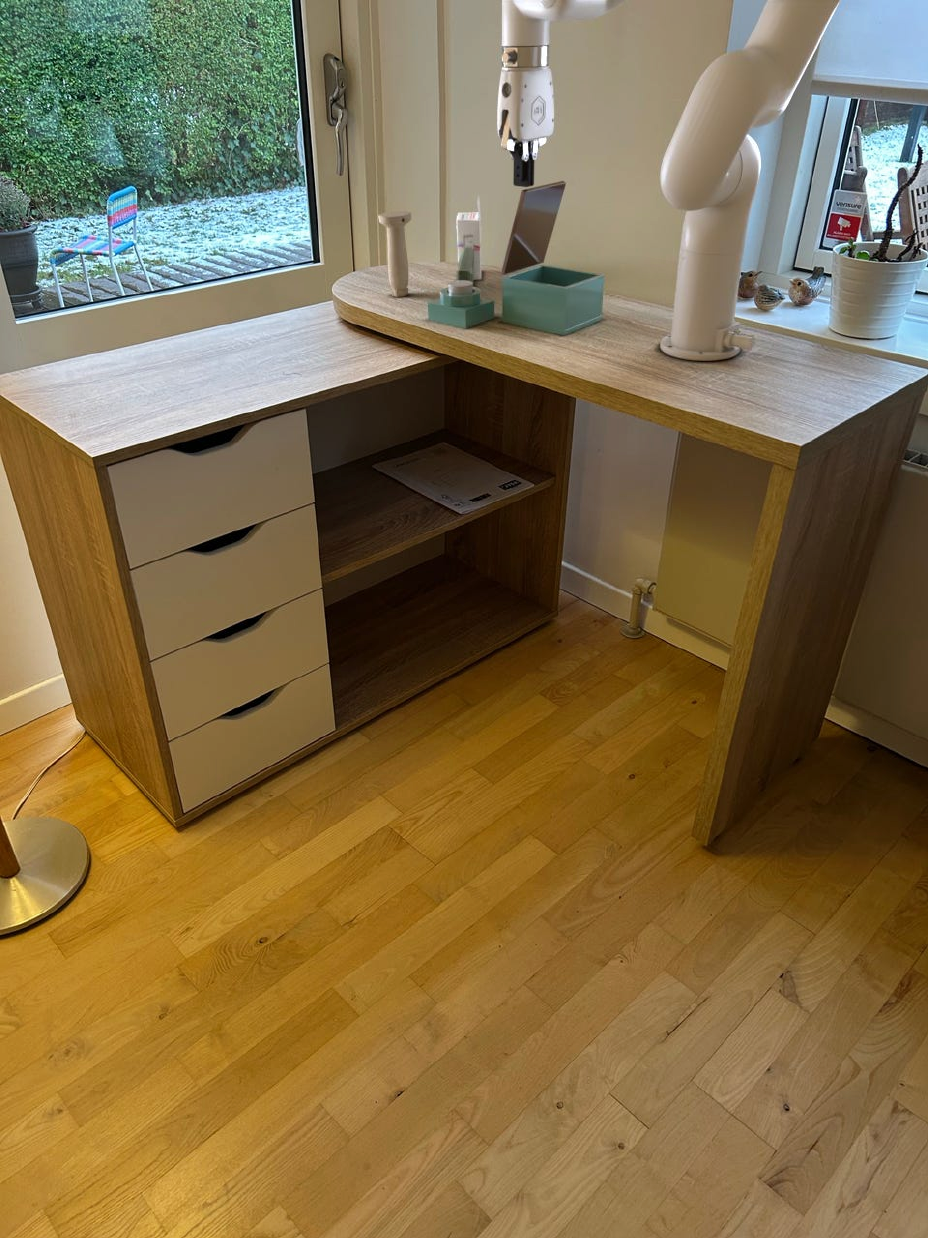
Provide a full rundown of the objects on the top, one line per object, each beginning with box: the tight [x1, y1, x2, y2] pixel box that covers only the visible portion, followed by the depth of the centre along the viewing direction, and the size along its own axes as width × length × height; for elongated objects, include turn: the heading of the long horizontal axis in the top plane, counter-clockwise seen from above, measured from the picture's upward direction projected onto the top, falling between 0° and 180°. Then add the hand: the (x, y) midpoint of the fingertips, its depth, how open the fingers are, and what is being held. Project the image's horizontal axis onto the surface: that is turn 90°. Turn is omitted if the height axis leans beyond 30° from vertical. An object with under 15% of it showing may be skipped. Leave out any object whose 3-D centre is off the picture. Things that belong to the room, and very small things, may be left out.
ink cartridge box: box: [455, 196, 482, 281], centre depth 188 cm, size 9×5×15 cm, turn 178°
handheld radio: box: [456, 247, 475, 283], centre depth 181 cm, size 7×3×25 cm
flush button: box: [447, 279, 474, 295], centre depth 163 cm, size 4×4×2 cm
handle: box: [377, 210, 412, 298], centre depth 177 cm, size 5×6×15 cm
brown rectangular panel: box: [500, 180, 567, 276], centre depth 157 cm, size 14×12×1 cm
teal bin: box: [501, 264, 605, 336], centre depth 161 cm, size 14×12×8 cm
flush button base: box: [427, 286, 495, 329], centre depth 164 cm, size 9×8×5 cm
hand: (523, 185), depth 155 cm, fingers closed
